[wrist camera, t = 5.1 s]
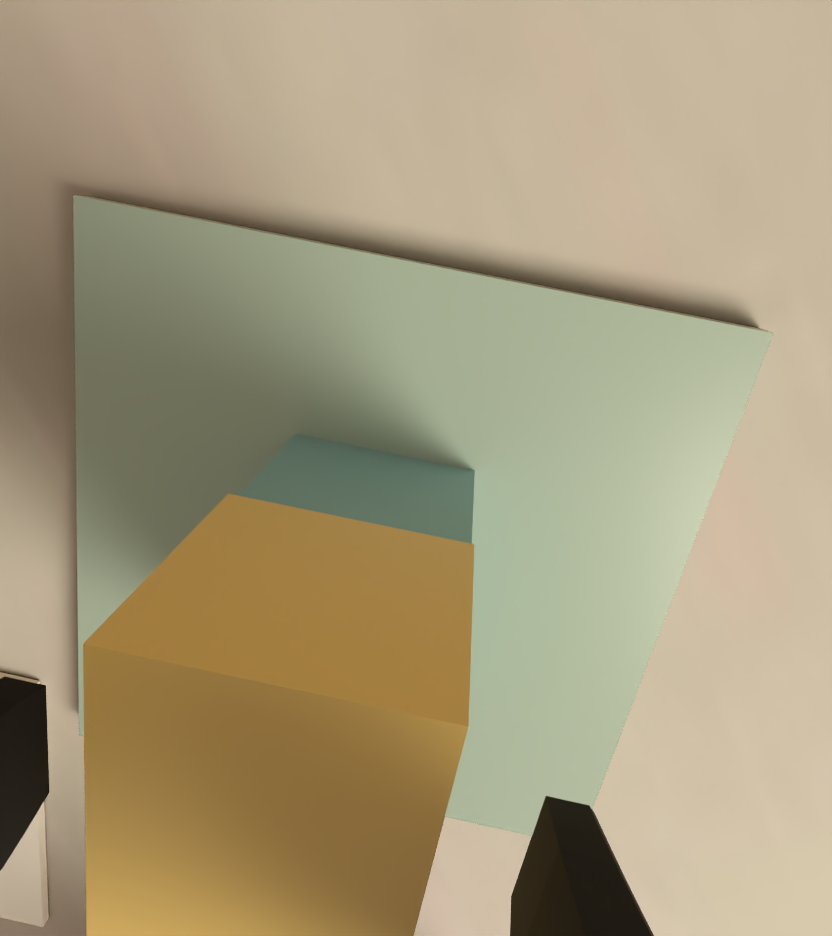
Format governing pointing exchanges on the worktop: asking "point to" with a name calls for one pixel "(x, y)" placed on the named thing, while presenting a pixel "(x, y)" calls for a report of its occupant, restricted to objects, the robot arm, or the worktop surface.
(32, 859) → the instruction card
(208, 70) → the worktop surface
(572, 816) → the robot arm
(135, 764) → the brick ochre
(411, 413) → the baseplate
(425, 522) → the brick teal
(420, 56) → the worktop surface
